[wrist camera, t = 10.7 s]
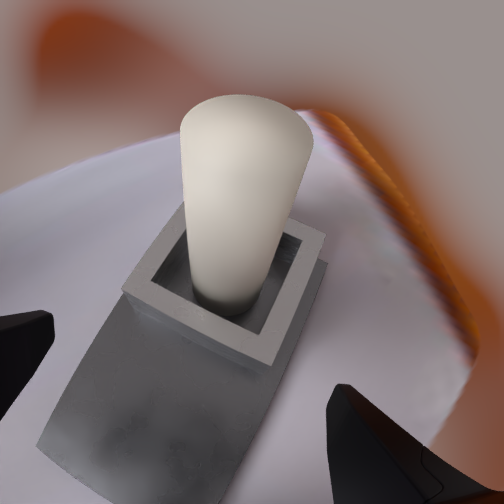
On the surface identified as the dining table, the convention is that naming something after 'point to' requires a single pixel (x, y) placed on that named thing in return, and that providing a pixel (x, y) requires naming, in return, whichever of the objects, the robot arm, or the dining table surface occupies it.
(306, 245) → the socket
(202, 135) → the peg
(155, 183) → the dining table surface
